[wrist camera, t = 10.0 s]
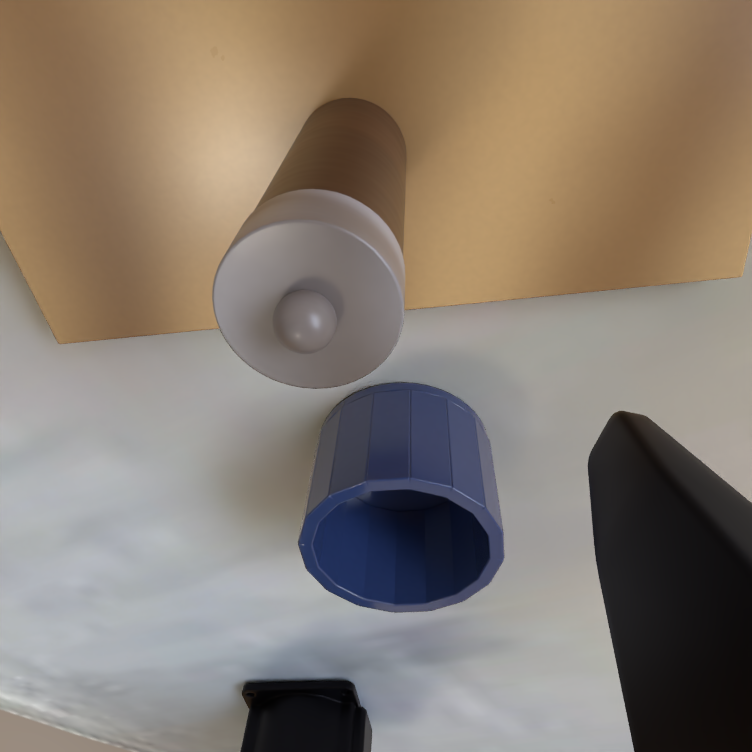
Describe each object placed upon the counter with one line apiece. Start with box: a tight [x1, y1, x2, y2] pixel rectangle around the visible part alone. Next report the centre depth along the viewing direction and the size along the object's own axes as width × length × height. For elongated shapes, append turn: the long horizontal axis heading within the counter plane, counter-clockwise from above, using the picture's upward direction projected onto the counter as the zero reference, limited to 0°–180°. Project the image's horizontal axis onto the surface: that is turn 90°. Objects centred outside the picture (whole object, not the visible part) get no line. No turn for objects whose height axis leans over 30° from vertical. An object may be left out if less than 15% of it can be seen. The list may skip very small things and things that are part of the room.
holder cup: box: [298, 383, 504, 613], centre depth 23 cm, size 7×7×5 cm
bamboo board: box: [0, 0, 752, 344], centre depth 16 cm, size 22×14×1 cm, turn 98°
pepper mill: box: [212, 98, 407, 389], centre depth 13 cm, size 3×3×9 cm
